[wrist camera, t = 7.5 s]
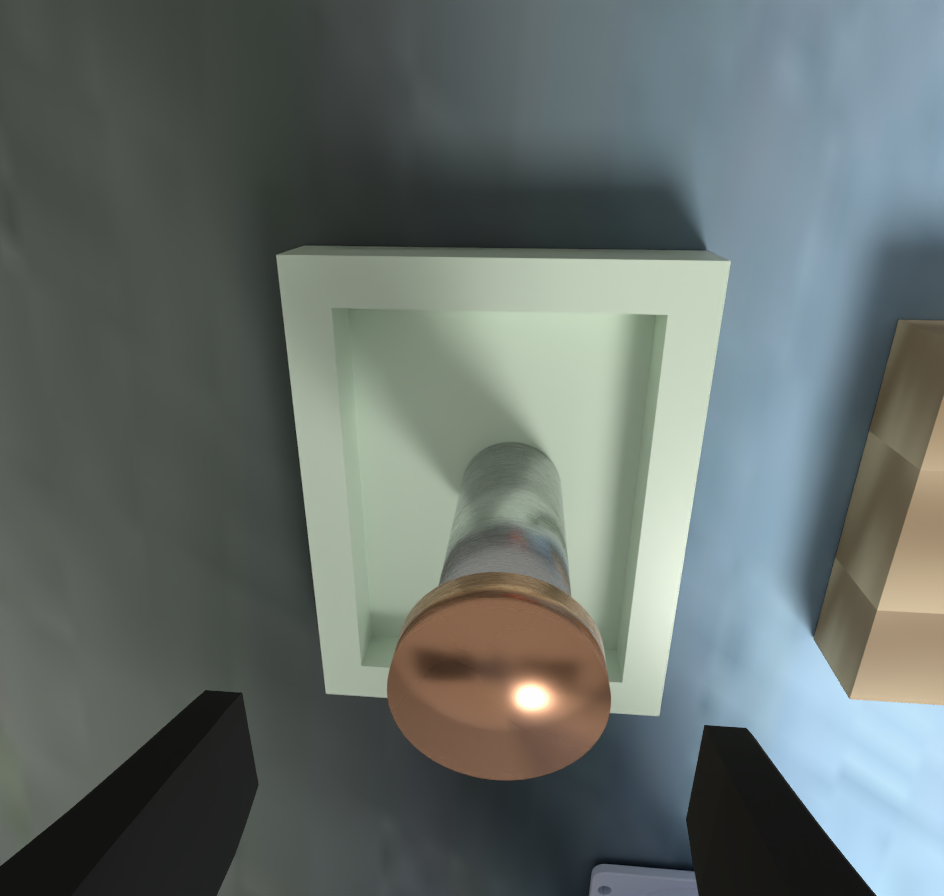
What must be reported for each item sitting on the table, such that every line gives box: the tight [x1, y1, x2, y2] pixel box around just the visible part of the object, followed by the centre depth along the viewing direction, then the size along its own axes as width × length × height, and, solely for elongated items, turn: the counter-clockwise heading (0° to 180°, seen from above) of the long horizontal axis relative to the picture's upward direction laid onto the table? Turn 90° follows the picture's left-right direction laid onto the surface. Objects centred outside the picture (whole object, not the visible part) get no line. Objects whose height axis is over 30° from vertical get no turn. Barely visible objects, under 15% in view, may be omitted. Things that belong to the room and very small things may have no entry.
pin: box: [387, 442, 611, 780], centre depth 15 cm, size 4×4×8 cm
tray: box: [276, 246, 731, 716], centre depth 18 cm, size 13×10×2 cm
